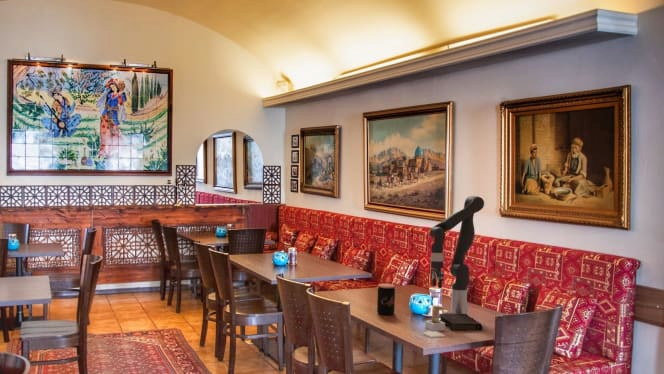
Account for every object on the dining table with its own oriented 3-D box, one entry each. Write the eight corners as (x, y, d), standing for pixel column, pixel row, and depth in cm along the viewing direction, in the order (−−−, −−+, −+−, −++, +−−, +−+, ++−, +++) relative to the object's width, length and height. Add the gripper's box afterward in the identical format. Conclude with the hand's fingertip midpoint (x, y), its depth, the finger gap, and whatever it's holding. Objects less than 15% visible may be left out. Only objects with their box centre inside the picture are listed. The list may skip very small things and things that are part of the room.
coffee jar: (380, 316, 421) (381, 286, 420) (374, 312, 431) (375, 283, 430) (396, 315, 423) (397, 286, 423) (390, 311, 434) (391, 283, 433)
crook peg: (430, 329, 391) (431, 306, 391) (432, 327, 395) (433, 305, 394) (442, 330, 389) (443, 307, 388) (444, 329, 392) (444, 306, 392)
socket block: (437, 326, 398) (437, 319, 397) (444, 330, 390) (445, 323, 390) (425, 327, 394) (425, 320, 394) (432, 331, 387) (432, 324, 387)
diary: (466, 321, 416) (466, 313, 416) (482, 331, 391) (482, 323, 391) (436, 321, 413) (437, 313, 413) (450, 331, 388) (451, 323, 388)
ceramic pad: (436, 332, 384) (436, 331, 384) (445, 336, 376) (445, 335, 376) (422, 333, 381) (422, 332, 381) (431, 337, 372) (431, 336, 372)
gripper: (447, 261, 409) (447, 288, 409) (438, 259, 423) (438, 285, 423) (436, 261, 407) (436, 288, 407) (426, 259, 421) (426, 285, 421)
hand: (437, 287), depth 415 cm, fingers open, 8 cm apart
